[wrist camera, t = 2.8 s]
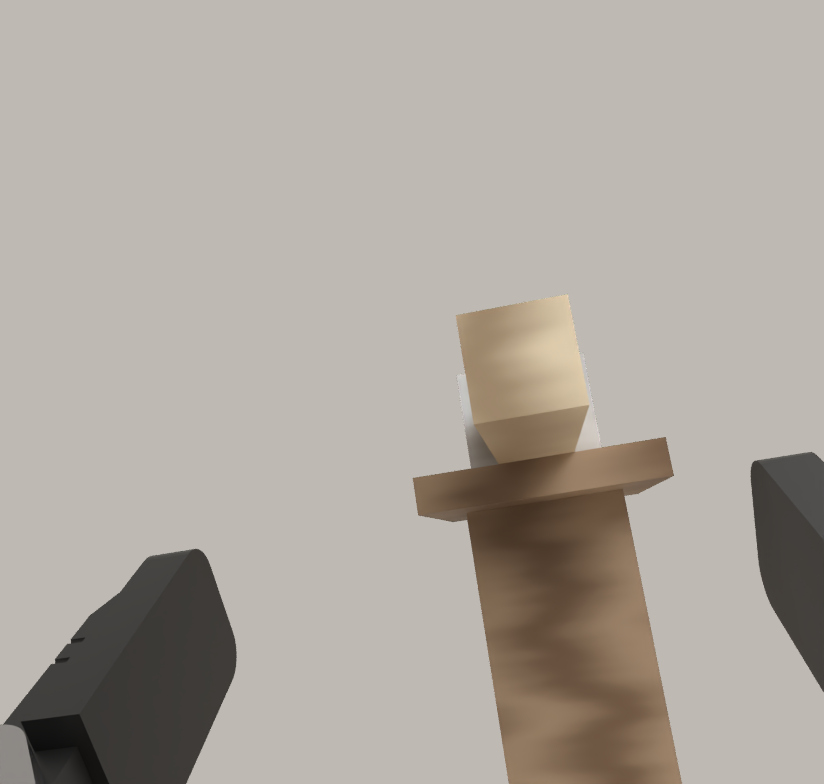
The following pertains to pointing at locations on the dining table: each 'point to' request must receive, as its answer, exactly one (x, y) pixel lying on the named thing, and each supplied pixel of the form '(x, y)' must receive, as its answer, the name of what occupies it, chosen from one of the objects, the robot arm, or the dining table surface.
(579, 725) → the wooden i-beam column
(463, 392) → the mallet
